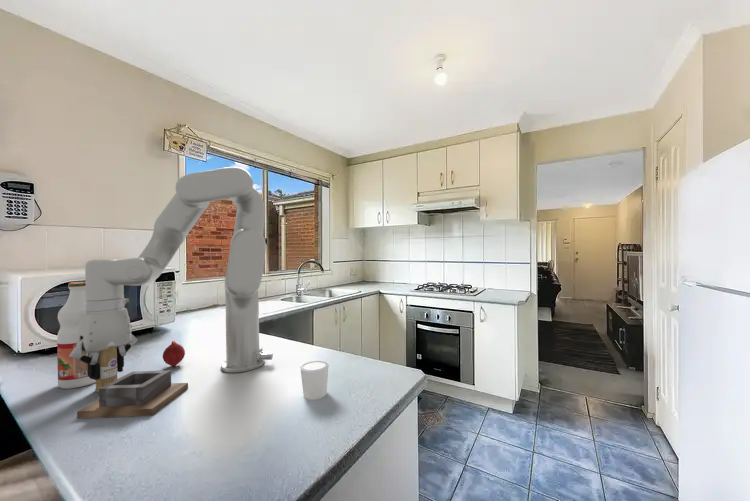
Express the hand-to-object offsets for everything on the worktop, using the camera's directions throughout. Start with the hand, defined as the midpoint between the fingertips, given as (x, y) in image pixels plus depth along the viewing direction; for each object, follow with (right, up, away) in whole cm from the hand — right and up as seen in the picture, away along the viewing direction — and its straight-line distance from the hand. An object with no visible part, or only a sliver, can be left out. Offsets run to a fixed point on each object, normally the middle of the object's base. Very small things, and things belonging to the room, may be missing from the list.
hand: (106, 374), depth 79 cm
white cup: (+56, -3, -6) cm, 57 cm away
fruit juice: (-11, -4, +5) cm, 13 cm away
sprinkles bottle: (0, -4, 0) cm, 4 cm away
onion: (+8, -4, +15) cm, 18 cm away
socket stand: (+14, -4, -8) cm, 17 cm away
